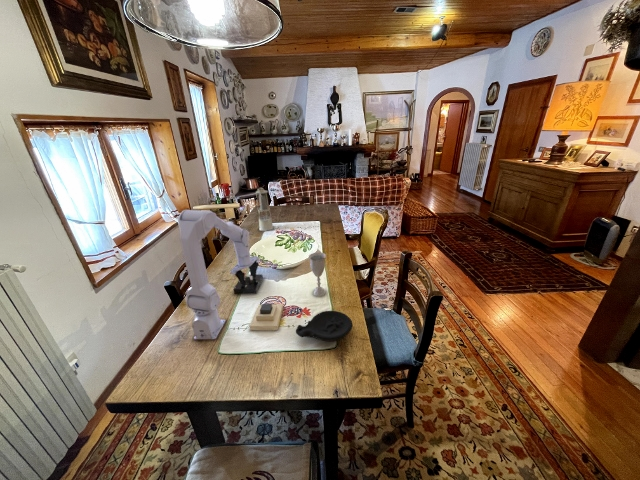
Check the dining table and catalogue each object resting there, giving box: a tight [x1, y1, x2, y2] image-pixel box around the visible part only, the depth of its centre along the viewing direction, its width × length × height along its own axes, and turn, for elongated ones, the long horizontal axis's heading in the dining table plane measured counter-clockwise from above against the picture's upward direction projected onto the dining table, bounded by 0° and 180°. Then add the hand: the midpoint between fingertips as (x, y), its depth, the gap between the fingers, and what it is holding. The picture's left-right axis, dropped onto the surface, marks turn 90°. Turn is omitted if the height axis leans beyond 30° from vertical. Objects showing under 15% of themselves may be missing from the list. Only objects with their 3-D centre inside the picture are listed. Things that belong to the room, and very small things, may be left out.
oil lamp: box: [295, 310, 353, 343], centre depth 87 cm, size 15×20×5 cm
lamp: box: [255, 187, 274, 232], centre depth 178 cm, size 10×13×30 cm
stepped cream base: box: [249, 303, 284, 331], centre depth 96 cm, size 12×10×4 cm
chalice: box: [308, 251, 327, 297], centre depth 106 cm, size 7×7×18 cm
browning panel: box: [233, 273, 264, 295], centre depth 117 cm, size 12×10×3 cm
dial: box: [244, 272, 253, 283], centre depth 116 cm, size 5×1×4 cm, turn 57°
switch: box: [260, 303, 272, 314], centre depth 95 cm, size 4×4×2 cm
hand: (248, 280), depth 116 cm, fingers open, 6 cm apart
